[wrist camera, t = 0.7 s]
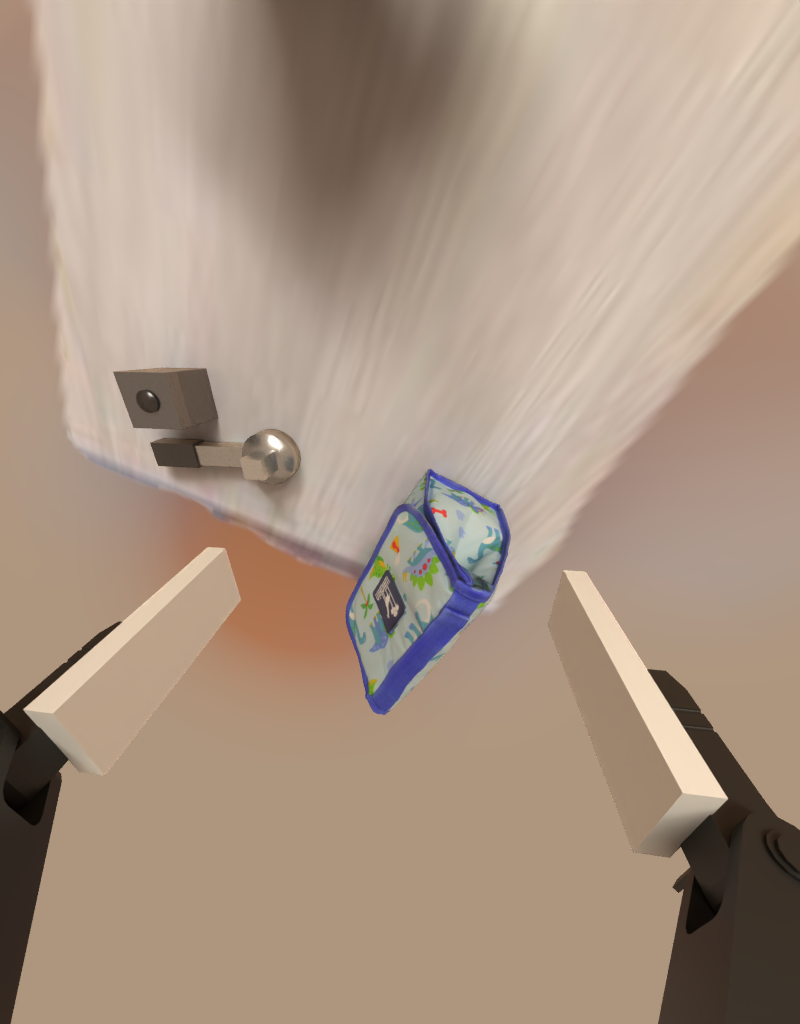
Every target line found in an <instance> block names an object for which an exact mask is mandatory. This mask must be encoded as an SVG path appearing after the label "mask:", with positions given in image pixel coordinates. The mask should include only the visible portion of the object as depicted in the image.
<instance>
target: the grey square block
mask: <svg viewBox="0 0 800 1024" xmlns="http://www.w3.org/2000/svg"><path fill="white" fill-rule="evenodd" d="M113 373H114V375H115V378H116V381H117V384H118V386H119V389H120V392H121V394H122V397H123V400H124V403H125V405H126V408H127V411H128V413H129V416H130V419H131V422H132V424H133V427H134V428H153V429H185V428H188V427H191V426H194V425H197V424H200V423H203V422H206V421H209V420H212V419H215V418H218V416H217V411H216V407H215V403H214V399H213V395H212V391H211V387H210V383H209V379H208V375H207V371H206V369H204V368H154V369H142V370H129V371H117V372H113Z"/></svg>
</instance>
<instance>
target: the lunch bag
mask: <svg viewBox="0 0 800 1024" xmlns="http://www.w3.org/2000/svg"><path fill="white" fill-rule="evenodd" d="M509 543H510V531H509V527H508V523H507V521H506V518H505V515H504V512H503V510H502V509H501V508H500V505H498V504H495V503H492V502H490V501H488V500H487V499H484V498H482V497H481V496H479V495H477V494H475V493H474V492H472V491H470V490H468V489H467V488H465V487H463V486H461V485H459V484H457V483H455V482H453V481H451V480H449V479H447V478H445V477H443V476H440V475H438V474H437V473H435V472H434V471H433V470H431V469H430V470H428V472H427V474H426V475H425V476H424V477H423V478H422V479H421V481H420V482H419V484H418V485H417V486H416V488H415V489H414V491H413V492H412V494H411V495H410V496H409V498H408V499H407V501H406V502H405V504H402V505H400V506H398V507H397V508H396V510H395V511H394V513H393V515H392V517H391V519H390V521H389V523H388V525H387V527H386V529H385V531H384V533H383V535H382V537H381V538H380V540H379V542H378V544H377V546H376V548H375V550H374V553H373V555H372V557H371V559H370V561H369V563H368V565H367V566H366V568H365V570H364V572H363V574H362V575H361V577H360V579H359V581H358V582H357V585H356V587H355V589H354V591H353V592H352V594H351V597H350V599H349V601H348V603H347V607H346V624H347V628H348V632H349V635H350V637H351V640H352V642H353V645H354V648H355V650H356V653H357V656H358V659H359V663H360V667H361V672H362V677H363V683H364V687H365V691H366V695H365V697H366V699H367V700H368V702H369V705H370V707H371V709H372V710H373V712H375V713H377V714H383V715H385V714H386V713H388V712H389V711H390V710H391V709H392V708H393V707H395V706H396V705H397V704H398V703H399V702H401V701H402V700H403V699H404V698H405V697H406V696H407V695H408V694H409V693H410V692H411V691H412V689H413V688H414V687H415V686H416V685H417V684H418V683H419V682H420V681H421V680H422V679H423V678H424V677H425V676H426V675H427V674H428V673H429V672H430V671H431V670H432V668H433V667H434V666H435V665H436V664H437V663H438V662H439V661H440V659H441V658H442V657H443V655H445V654H446V653H447V652H448V651H449V650H450V648H451V647H452V646H453V644H454V643H455V642H456V640H457V639H458V637H459V636H460V635H461V634H462V633H463V631H464V630H465V629H466V628H467V627H468V626H469V625H470V623H471V622H473V621H474V619H475V618H476V617H477V616H478V615H479V614H480V613H481V612H482V611H483V609H484V608H485V607H486V606H487V605H488V603H489V602H490V601H491V599H492V597H493V595H494V593H495V590H496V587H497V584H498V580H499V578H500V575H501V573H502V571H503V568H504V563H505V560H506V558H507V555H508V548H509Z"/></svg>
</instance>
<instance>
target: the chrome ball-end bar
mask: <svg viewBox="0 0 800 1024" xmlns="http://www.w3.org/2000/svg"><path fill="white" fill-rule="evenodd" d="M150 444H151V447H152V449H153V452H154V455H155V458H156V461H157V464H158V466H171V467H193V468H199V467H201V466H225V467H242V471H243V475H244V479H245V480H259V481H261V482H264V483H267V484H279V483H282V482H284V481H285V480H287V479H288V478H289V477H290V476H291V475H292V474H294V473H295V472H296V471H297V469H298V467H299V465H300V452H299V449H298V446H297V445H296V443H295V442H294V440H293V439H292V438H291V437H290V436H288V435H287V434H286V433H284V432H282V431H279V430H275V429H267V430H264V431H261V432H259V433H257V434H255V435H253V436H251V437H250V438H248V439H247V440H246V442H245V443H226V442H204V441H203V440H194V439H168V438H163V439H160V440H157V441H154V442H151V443H150Z"/></svg>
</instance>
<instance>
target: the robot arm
mask: <svg viewBox="0 0 800 1024" xmlns="http://www.w3.org/2000/svg"><path fill="white" fill-rule="evenodd" d="M240 601H241V598H240V595H239V591H238V588H237V585H236V582H235V578H234V575H233V572H232V569H231V565H230V562H229V558H228V555H227V552H226V549H225V548H214V547H207V548H206V549H205V550H204V551H203V552H202V553H201V554H199V555H198V556H197V557H196V558H195V559H194V560H193V561H191V562H190V563H189V564H188V565H187V566H186V567H185V568H183V570H181V571H180V572H179V573H178V574H177V575H176V576H174V577H173V578H172V579H171V580H170V581H169V582H168V583H166V584H165V585H164V586H163V587H162V588H161V589H160V590H158V591H157V592H156V593H155V594H154V595H153V596H152V597H150V599H148V600H147V601H146V602H145V603H144V604H143V605H141V606H140V607H139V608H138V609H137V610H136V611H135V612H133V613H132V614H131V615H130V616H129V617H128V618H127V619H125V620H124V621H123V622H117V623H115V624H114V625H112V626H110V627H109V628H107V629H105V630H104V631H102V632H100V633H99V634H97V635H96V636H95V637H94V638H93V639H91V640H90V641H89V642H88V643H87V644H86V645H84V646H83V647H82V650H81V651H77V652H76V653H75V654H74V655H73V656H72V657H70V658H69V659H68V662H67V663H63V664H62V665H61V666H60V667H59V668H58V669H56V670H55V671H54V672H53V673H52V674H50V675H49V676H48V677H47V678H46V679H45V680H43V681H42V682H41V683H40V684H39V685H38V686H36V687H35V688H34V689H33V690H32V691H30V692H29V693H28V694H27V695H26V696H25V697H23V698H22V699H21V700H20V701H19V702H18V703H16V704H15V705H14V706H13V707H12V708H10V709H9V710H8V711H7V712H5V713H4V714H3V713H2V712H1V711H0V1024H10V1023H11V1019H12V1014H13V1009H14V1005H15V1000H16V995H17V990H18V986H19V981H20V976H21V972H22V966H23V962H24V957H25V953H26V948H27V943H28V938H29V934H30V929H31V924H32V920H33V914H34V910H35V905H36V900H37V895H38V891H39V886H40V882H41V877H42V872H43V868H44V862H45V858H46V853H47V849H48V843H49V839H50V834H51V830H52V825H53V820H54V815H55V811H56V806H57V801H58V797H59V792H60V787H61V782H62V780H61V773H60V772H59V770H60V769H61V768H62V767H63V765H64V764H65V763H66V762H67V761H68V760H69V761H70V762H71V764H72V765H73V766H74V767H75V768H76V769H77V770H78V771H79V772H84V773H91V774H97V775H106V774H107V772H108V771H109V770H110V768H111V767H112V766H113V764H114V763H115V762H116V761H117V759H118V758H119V757H120V755H121V754H122V753H123V752H124V750H125V749H126V748H127V746H128V745H129V743H131V741H132V740H133V739H134V737H135V736H136V735H137V733H138V732H139V731H140V729H141V728H142V727H143V726H144V724H145V723H146V722H147V721H148V719H149V718H150V717H151V715H152V714H153V713H154V712H155V710H156V709H157V708H158V706H159V705H160V704H161V703H162V701H163V700H164V699H165V697H166V696H167V695H168V694H169V692H170V691H171V690H172V688H173V687H174V686H175V684H176V683H177V682H178V681H179V679H180V678H181V677H182V675H183V674H184V672H186V670H187V669H188V668H189V666H190V665H191V664H192V662H193V661H194V660H195V659H196V657H197V656H198V655H199V653H200V652H201V651H202V650H203V648H204V647H205V646H206V644H207V643H208V642H209V641H210V639H211V638H212V637H213V635H214V634H215V633H216V632H217V630H218V629H219V628H220V626H221V625H222V624H223V622H224V621H225V620H226V619H227V617H228V616H229V615H230V613H231V612H232V611H233V610H234V608H235V607H236V606H237V604H238V603H239V602H240ZM548 627H549V630H550V632H551V635H552V638H553V641H554V643H555V646H556V649H557V651H558V654H559V656H560V659H561V662H562V664H563V667H564V669H565V672H566V675H567V678H568V680H569V683H570V686H571V688H572V691H573V693H574V696H575V699H576V701H577V704H578V707H579V710H580V712H581V715H582V717H583V720H584V723H585V726H586V728H587V731H588V733H589V736H590V739H591V741H592V744H593V747H594V750H595V752H596V755H597V757H598V760H599V763H600V765H601V768H602V770H603V773H604V776H605V779H606V781H607V784H608V787H609V789H610V792H611V795H612V797H613V800H614V803H615V805H616V808H617V811H618V813H619V816H620V819H621V821H622V824H623V826H624V829H625V832H626V835H627V837H628V840H629V842H630V845H631V848H632V850H633V852H635V853H641V854H649V855H655V856H662V857H671V856H672V855H673V854H674V853H675V852H676V851H677V850H678V849H679V848H680V847H681V848H682V850H683V852H684V854H685V856H686V858H687V860H688V862H689V864H690V868H689V869H688V870H687V871H686V872H685V873H684V874H682V875H681V876H680V877H679V878H678V879H677V880H676V882H675V884H674V886H673V888H674V889H675V890H676V891H677V892H678V893H679V892H680V891H682V889H684V891H683V896H682V901H681V907H680V912H679V917H678V923H677V928H676V933H675V939H674V943H673V949H672V954H671V959H670V965H669V970H668V975H667V980H666V985H665V991H664V996H663V1001H662V1006H661V1012H660V1017H659V1022H658V1024H800V830H799V829H797V828H796V827H795V826H793V825H791V824H789V823H788V822H786V821H784V820H782V819H780V818H778V817H777V816H776V815H775V813H774V812H773V811H772V809H771V808H770V807H769V806H768V805H767V803H766V802H765V800H764V799H763V798H762V796H761V795H760V793H759V792H758V791H757V789H756V788H755V786H754V785H753V784H752V782H751V781H750V779H749V778H748V776H747V775H746V774H745V772H744V771H743V769H742V768H741V766H740V765H739V764H738V762H737V761H736V759H735V758H734V756H733V755H732V754H731V752H730V751H729V749H728V748H727V747H726V745H725V744H724V742H723V741H722V739H721V738H720V737H719V735H718V734H717V733H716V732H714V731H713V727H712V725H711V724H710V722H709V721H708V720H707V718H706V717H705V716H704V714H701V710H700V708H699V707H698V706H697V704H696V703H695V701H694V700H693V698H692V697H691V696H690V694H689V693H688V691H687V690H686V689H685V688H684V687H683V686H682V685H681V684H680V683H679V682H677V681H676V680H675V679H674V678H673V677H672V676H671V675H670V674H669V673H667V672H666V671H661V670H650V669H646V667H645V666H644V664H643V662H642V661H641V659H640V658H639V656H638V654H637V653H636V651H635V650H634V648H633V647H632V645H631V644H630V642H629V640H628V639H627V637H626V635H625V634H624V632H623V631H622V629H621V628H620V626H619V624H618V623H617V621H616V619H615V618H614V616H613V615H612V613H611V611H610V610H609V608H608V607H607V605H606V604H605V602H604V601H603V599H602V597H601V596H600V594H599V592H598V591H597V589H596V588H595V586H594V585H593V583H592V581H591V580H590V578H589V576H588V575H587V573H586V572H583V571H566V570H563V574H562V577H561V580H560V584H559V587H558V591H557V594H556V598H555V601H554V605H553V608H552V611H551V615H550V619H549V622H548Z"/></svg>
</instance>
